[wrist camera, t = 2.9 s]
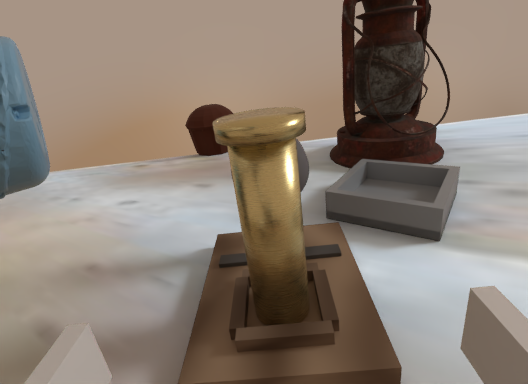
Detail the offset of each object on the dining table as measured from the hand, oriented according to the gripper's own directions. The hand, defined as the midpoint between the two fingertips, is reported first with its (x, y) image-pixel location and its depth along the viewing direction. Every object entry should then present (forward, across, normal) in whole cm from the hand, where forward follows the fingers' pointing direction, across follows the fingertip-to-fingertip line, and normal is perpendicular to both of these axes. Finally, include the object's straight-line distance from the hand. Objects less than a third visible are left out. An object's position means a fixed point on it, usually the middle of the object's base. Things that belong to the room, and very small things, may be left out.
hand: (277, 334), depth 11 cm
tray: (+27, +14, -9) cm, 32 cm away
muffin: (+63, -13, -9) cm, 65 cm away
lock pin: (+10, 0, -8) cm, 13 cm away
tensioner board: (+13, 0, -10) cm, 16 cm away
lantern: (+47, +20, -10) cm, 52 cm away
